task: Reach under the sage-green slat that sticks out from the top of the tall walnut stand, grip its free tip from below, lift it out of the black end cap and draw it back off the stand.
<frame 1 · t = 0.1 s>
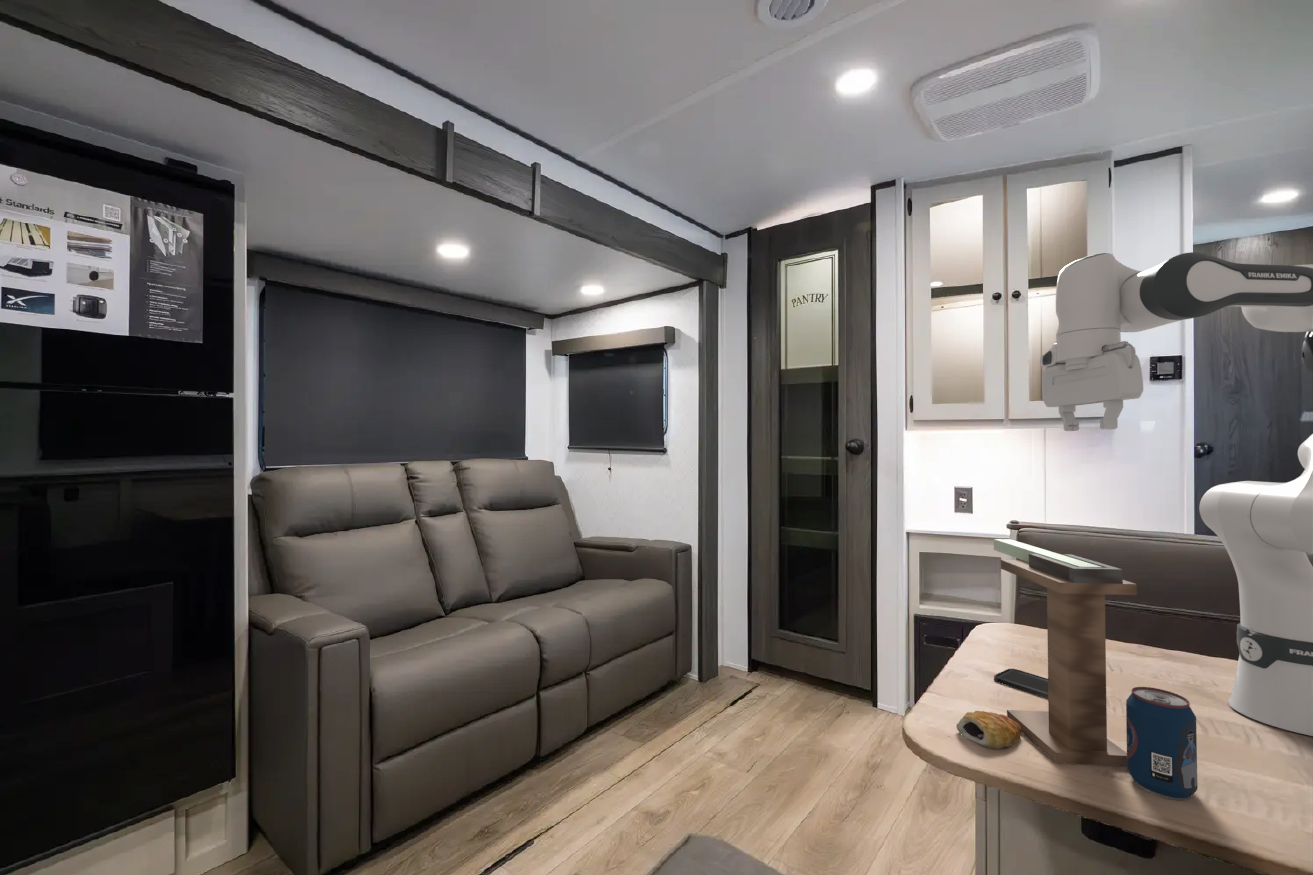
hand: (1089, 430, 96), 48 cm above the table, tool pointing down, fingers open, 8 cm apart
slat: (1041, 563, 91), point 26 cm above the table, touching stand
soda can: (1161, 788, 74), on the table
phone: (1044, 692, 104), on the table
pastry: (988, 739, 87), on the table
stand: (1064, 740, 86), on the table
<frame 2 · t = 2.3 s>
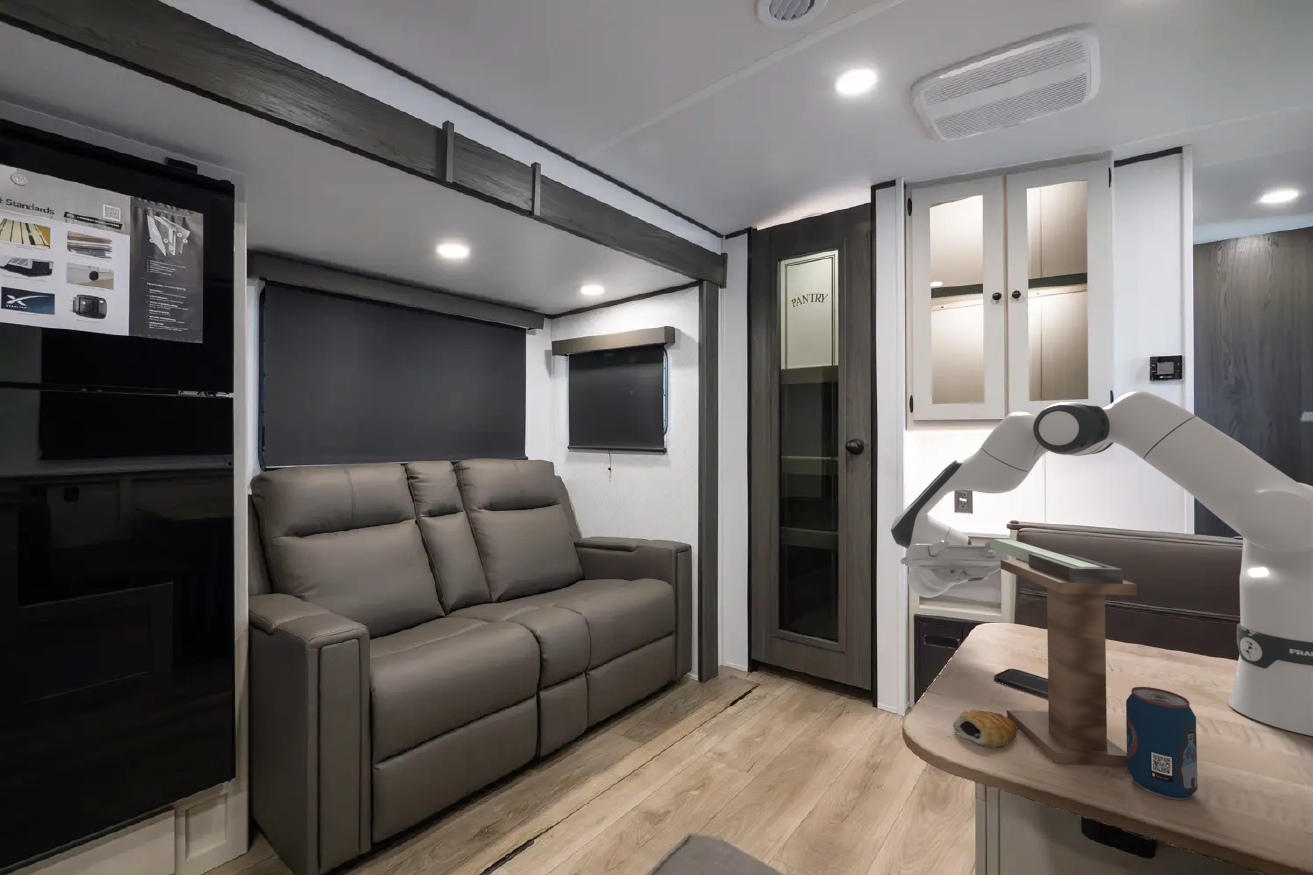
hand: (969, 544, 116), 25 cm above the table, tool pointing upward, fingers open, 8 cm apart
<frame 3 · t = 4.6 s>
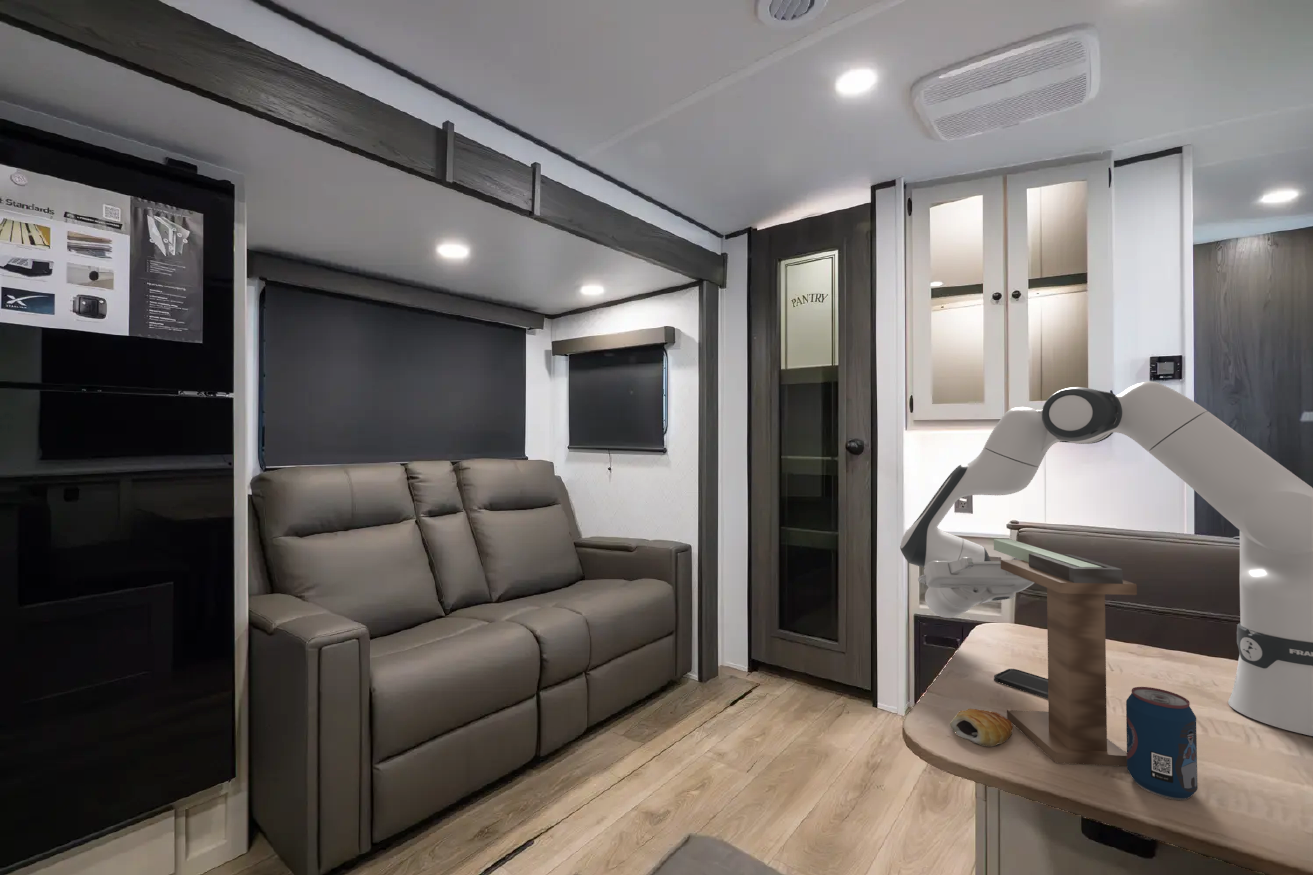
hand: (994, 561, 106), 23 cm above the table, tool pointing upward, fingers open, 8 cm apart
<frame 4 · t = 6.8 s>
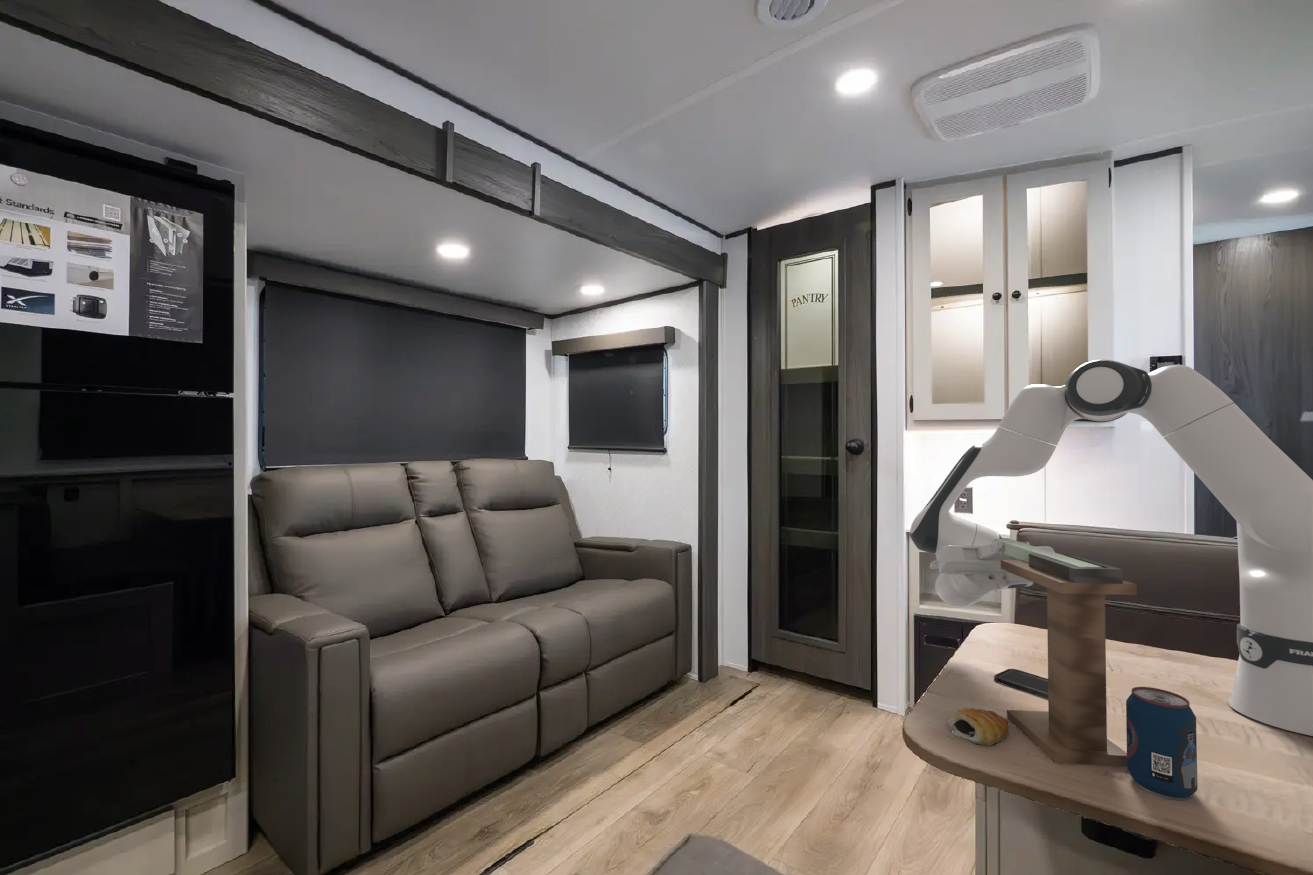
hand: (1013, 545, 100), 27 cm above the table, tool pointing upward, fingers closed on slat, 3 cm apart
slat: (1040, 563, 91), point 26 cm above the table, touching gripper, stand
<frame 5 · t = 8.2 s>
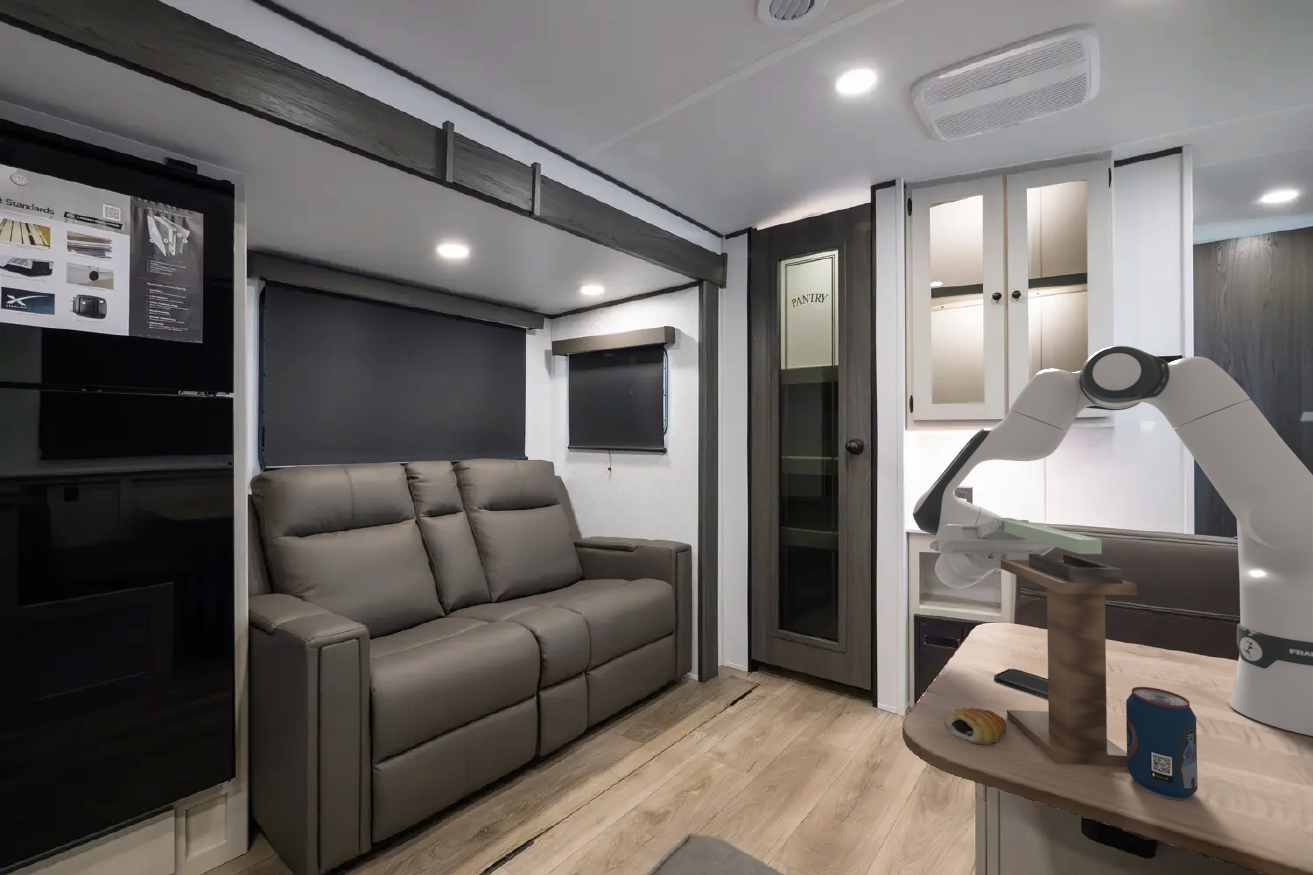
hand: (1012, 523, 100), 31 cm above the table, tool pointing upward, fingers closed on slat, 3 cm apart
slat: (1040, 539, 91), point 30 cm above the table, touching gripper
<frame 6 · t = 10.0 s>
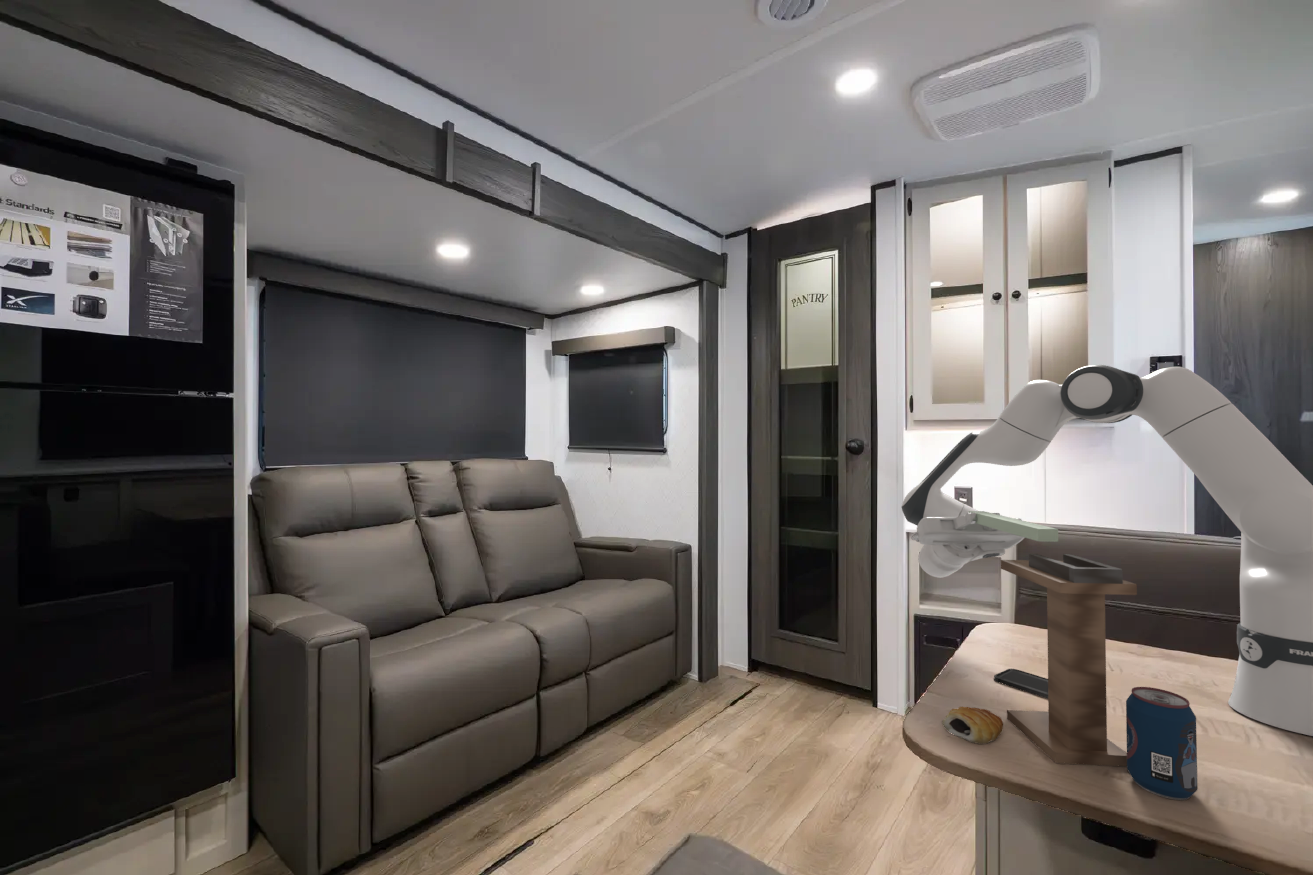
hand: (985, 516, 110), 31 cm above the table, tool pointing upward, fingers closed on slat, 3 cm apart
slat: (1007, 530, 101), point 30 cm above the table, touching gripper
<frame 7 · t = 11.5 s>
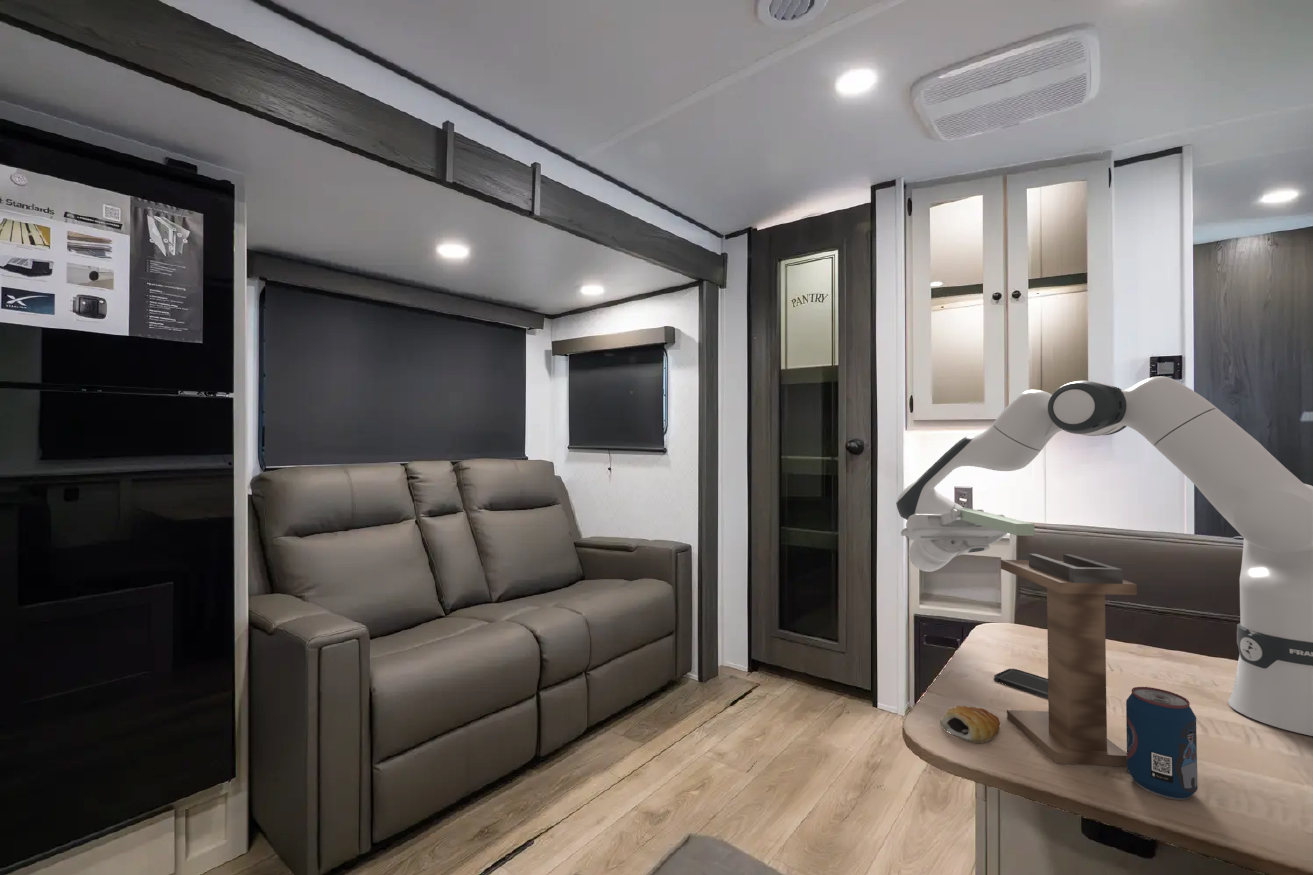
hand: (969, 512, 116), 31 cm above the table, tool pointing upward, fingers closed on slat, 3 cm apart
slat: (989, 525, 108), point 30 cm above the table, touching gripper
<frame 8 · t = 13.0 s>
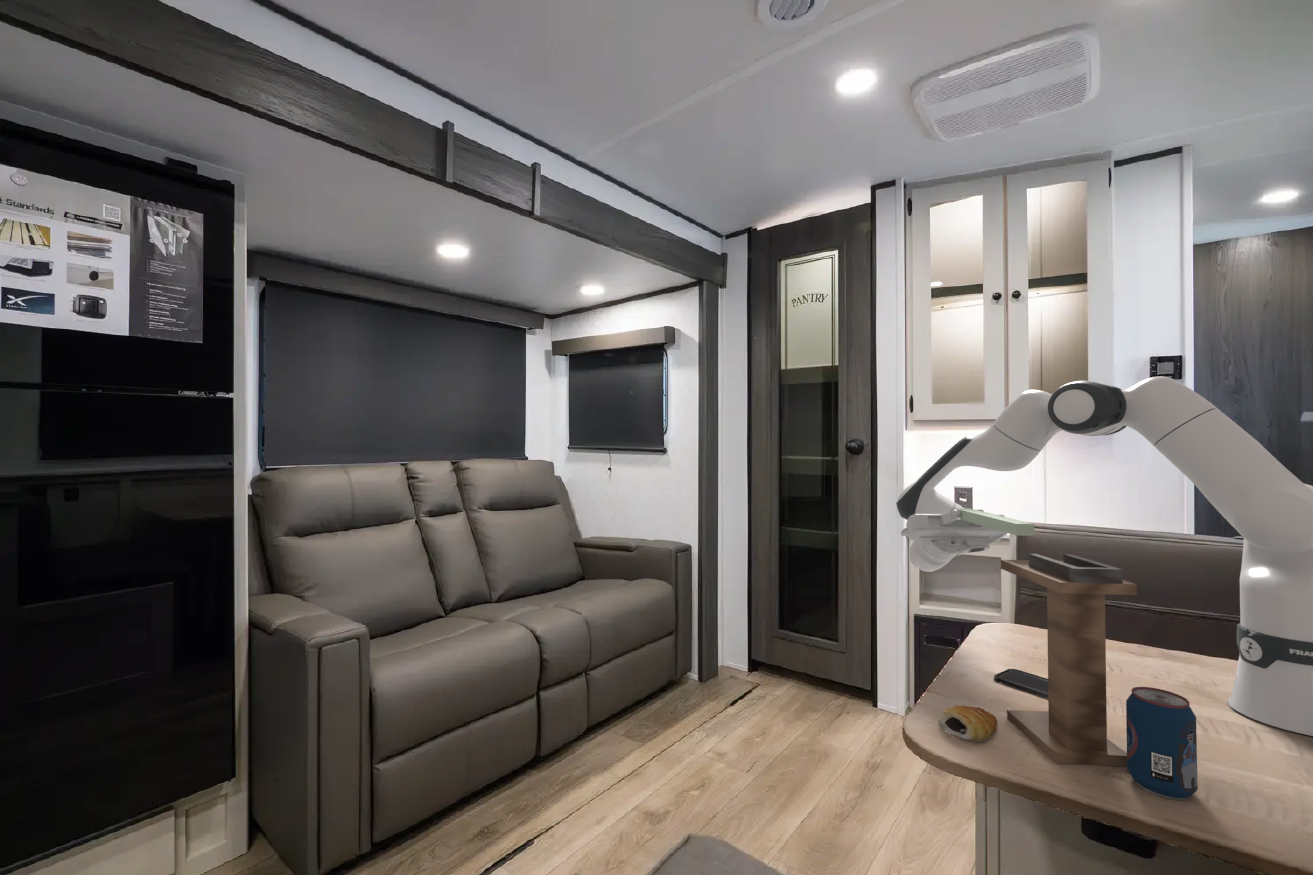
hand: (969, 512, 116), 31 cm above the table, tool pointing upward, fingers closed on slat, 3 cm apart
slat: (989, 525, 108), point 30 cm above the table, touching gripper
at the end: the gripper is holding slat; slat touching gripper; slat moved 16.9 cm from its start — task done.
